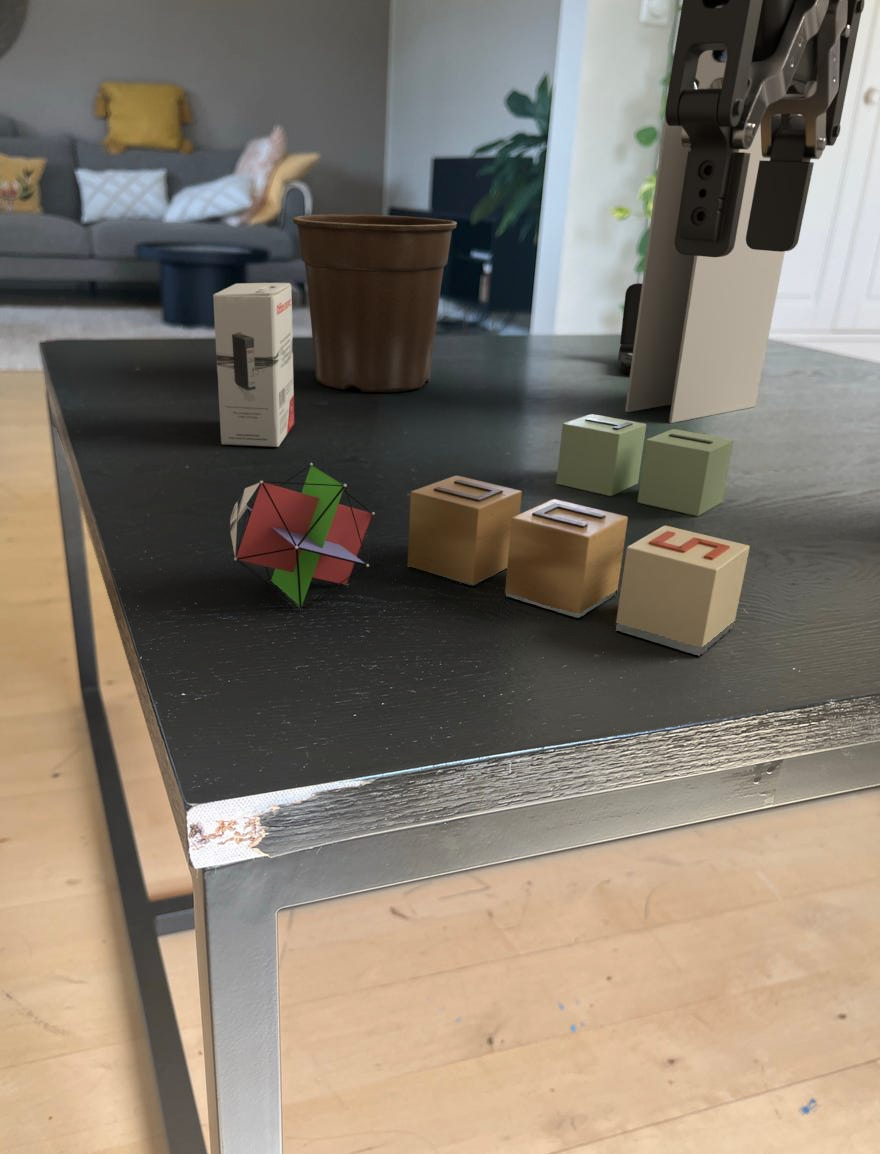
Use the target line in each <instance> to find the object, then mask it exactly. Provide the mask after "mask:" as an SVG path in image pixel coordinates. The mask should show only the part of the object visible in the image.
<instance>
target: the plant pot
mask: <svg viewBox="0 0 880 1154" xmlns="http://www.w3.org/2000/svg"><path fill="white" fill-rule="evenodd" d="M292 219H293V224H295V225H297V231H298V238H299V240H298V241H299V247H300V256H301V261H302V262H303V263H304V267H305V276H306V285H307V294H308V305H309V315H310V325H311V327H310V328H311V336H312V346H313V347H312V348H313V358H314V370H315V373H314V374H315V379H316V381H317V382H319V383H320V384H322V385H323V386H325V387H328V388H334V389H338V390H343V391H346V390H348V389H349V388H351V387H354V388H357V389H359V390H360V392H362V393H363V392H364V393H386V394H387V393H400V392H401V393H402V392H407V391H410V390H417V389H420V388H422V387H424V385H425V384H426V385H427V384H429V383H430V381H431V371H432V360H433V354H434V345H435V337H436V330H437V322H438V312H439V305H440V297H441V289H442V281H443V276H444V275H443V274H444V268H445V266H447V265H448V260H449V253H450V245H451V240H452V233H453V230H455V229H456V228H457V224H458V223H457V221H454V220H450V219H441V218H440V219H438V218H431V217H430V218H429V217H416V216H408V215H407V216H406V215H404V216H403V215H384V214H383V215H381V214H310V215H309V214H308V215H298V216H293V218H292Z"/></svg>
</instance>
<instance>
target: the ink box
mask: <svg viewBox="0 0 880 1154" xmlns="http://www.w3.org/2000/svg"><path fill="white" fill-rule="evenodd" d="M292 297H293V296H292V284H291V283H289V282H246V283H245V282H244V283H243V282H241V283H234V284H232V285H230V286H228V287H226V288H223V289H222V290H220V291H218V292H215V293H214V294H212V298H213V318H214V321H213V322H214V335H215V336H214V337H215V338H214V339H215V353H216V354H215V356H216V370H217V371H216V372H217V386H218V387H217V388H218V406H219V407H218V408H219V426H220V427H219V428H220V429H219V430H220V441H221V443H220V444H221V445H223V446H243V447H244V446H247V447H264V448H265V447H266V448H267V447H269V448H279V447H280V445H281V444H282V442H283V441H284V439H285V438H286V437H287V435H288V434H289V432H290V431H291V429H292V428H293V427H294V425H295V390H294V389H295V388H294V386H295V385H294V352H293V351H294V346H293V345H294V342H293V304H292V303H293V300H292V299H293V298H292Z"/></svg>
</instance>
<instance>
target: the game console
mask: <svg viewBox="0 0 880 1154" xmlns="http://www.w3.org/2000/svg"><path fill="white" fill-rule="evenodd" d="M641 289H642V283H633V284H631V285H629V286H628V287H627V288H626V291H625V294H624V295H625V297H624V304H623V314H622V322H621V332H620V341H619V344H620V346H619V349H618V356H617V360H618V365H619V370H620V371H621V372H623V373H625V374H628V375H630V371H631V364H632V356H633V349H634V341H635V334H636V326H637V319H638V312H639V304H640V297H641Z"/></svg>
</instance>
